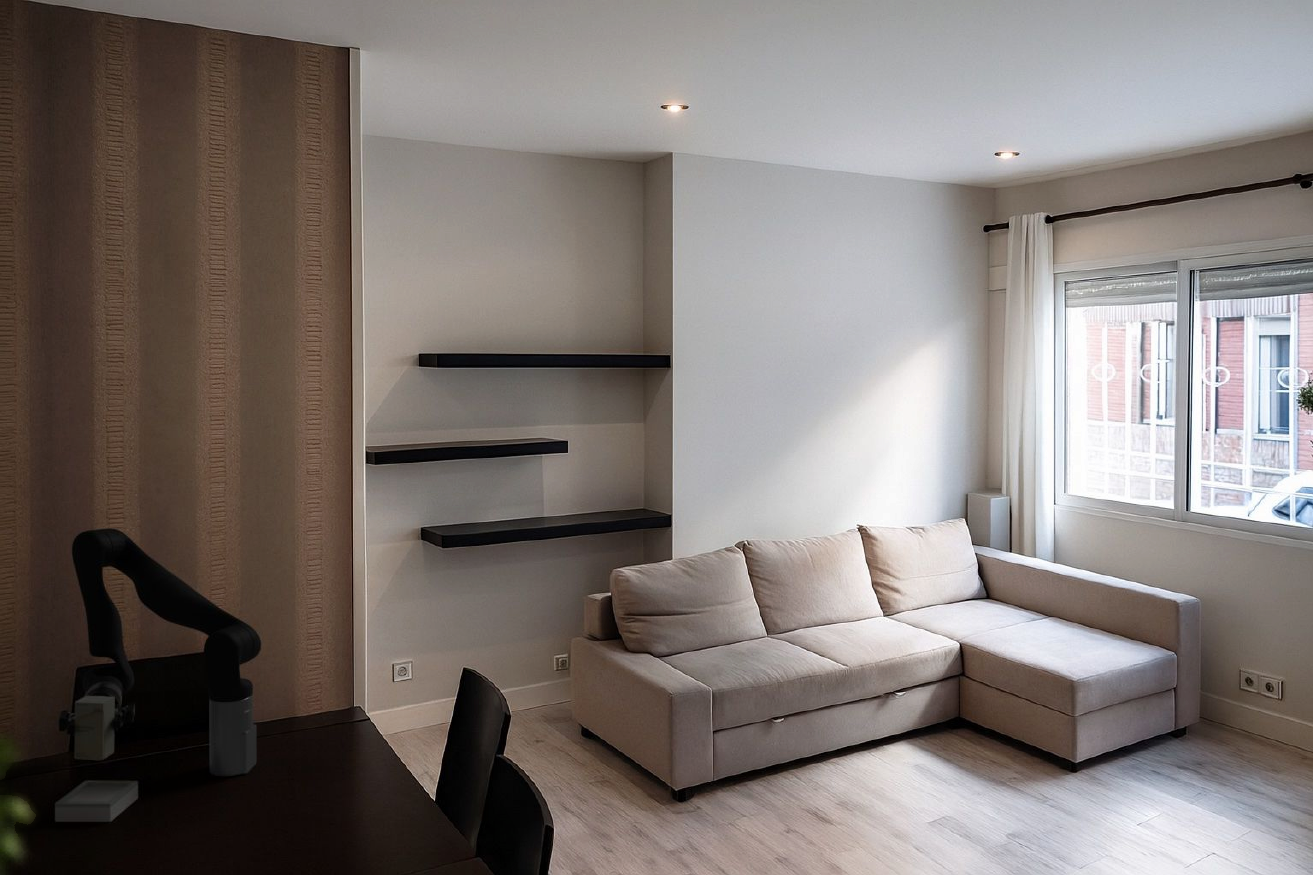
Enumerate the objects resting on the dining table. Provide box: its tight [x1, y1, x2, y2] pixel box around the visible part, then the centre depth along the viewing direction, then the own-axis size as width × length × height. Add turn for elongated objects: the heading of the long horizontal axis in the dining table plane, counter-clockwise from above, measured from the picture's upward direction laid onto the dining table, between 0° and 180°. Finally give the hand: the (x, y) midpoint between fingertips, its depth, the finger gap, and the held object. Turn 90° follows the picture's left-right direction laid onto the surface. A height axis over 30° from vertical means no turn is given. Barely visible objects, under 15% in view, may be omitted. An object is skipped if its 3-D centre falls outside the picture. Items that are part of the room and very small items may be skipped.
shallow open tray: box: [54, 780, 139, 823], centre depth 197 cm, size 11×11×4 cm
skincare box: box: [73, 695, 115, 761], centre depth 197 cm, size 6×4×12 cm
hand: (93, 728), depth 195 cm, fingers closed on skincare box, 7 cm apart
